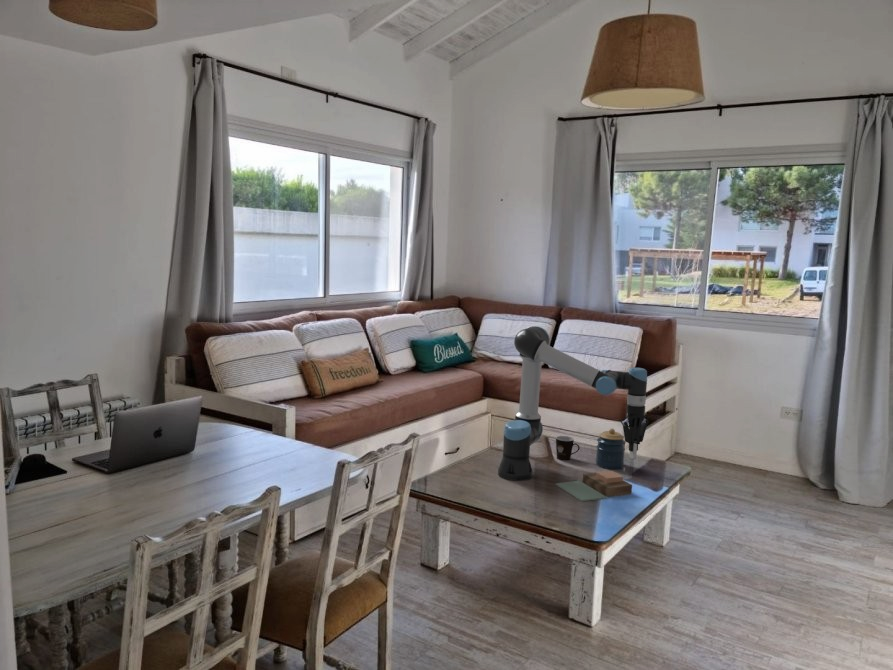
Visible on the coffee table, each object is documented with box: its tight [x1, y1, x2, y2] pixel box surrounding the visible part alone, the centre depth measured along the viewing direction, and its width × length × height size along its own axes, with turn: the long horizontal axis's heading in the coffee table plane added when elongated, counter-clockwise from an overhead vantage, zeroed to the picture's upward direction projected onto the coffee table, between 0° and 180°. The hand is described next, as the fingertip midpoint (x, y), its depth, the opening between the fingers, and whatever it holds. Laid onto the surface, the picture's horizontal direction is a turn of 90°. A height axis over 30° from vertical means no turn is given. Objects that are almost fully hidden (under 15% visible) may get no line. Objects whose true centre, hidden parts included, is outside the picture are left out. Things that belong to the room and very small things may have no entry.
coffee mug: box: [555, 435, 581, 461], centre depth 328 cm, size 12×9×10 cm
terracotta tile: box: [596, 470, 624, 483], centre depth 292 cm, size 8×8×2 cm
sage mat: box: [555, 480, 608, 502], centre depth 287 cm, size 20×12×1 cm, turn 22°
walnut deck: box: [582, 471, 633, 498], centre depth 292 cm, size 18×12×4 cm, turn 22°
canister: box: [595, 428, 626, 470], centre depth 322 cm, size 13×13×18 cm
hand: (632, 458), depth 295 cm, fingers closed
